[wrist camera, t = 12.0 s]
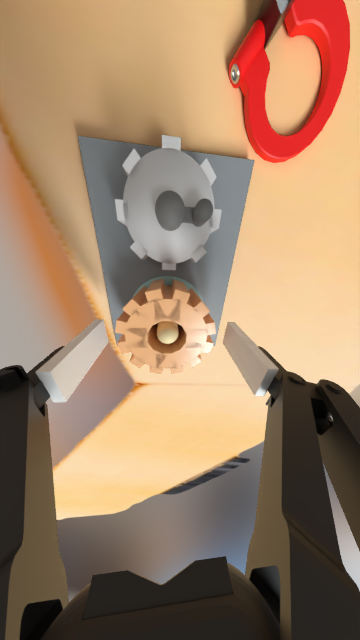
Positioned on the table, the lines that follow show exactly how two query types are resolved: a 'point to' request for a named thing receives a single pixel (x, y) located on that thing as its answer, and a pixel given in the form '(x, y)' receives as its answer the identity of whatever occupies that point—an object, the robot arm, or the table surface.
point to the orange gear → (165, 306)
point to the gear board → (164, 219)
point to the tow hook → (253, 68)
